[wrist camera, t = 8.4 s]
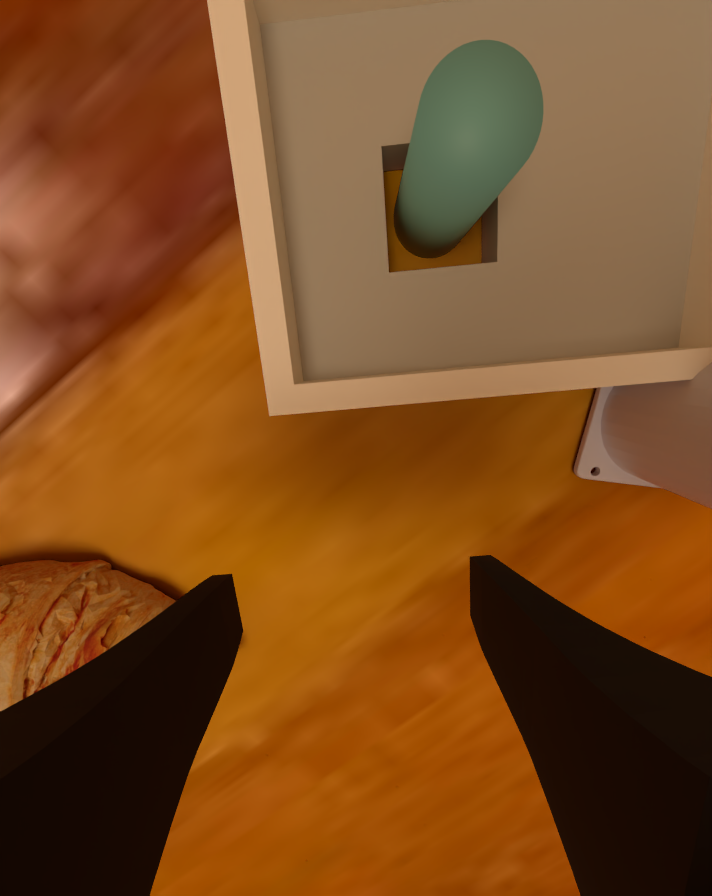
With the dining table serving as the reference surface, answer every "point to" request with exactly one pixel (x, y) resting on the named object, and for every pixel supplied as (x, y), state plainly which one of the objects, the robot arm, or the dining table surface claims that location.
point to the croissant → (64, 619)
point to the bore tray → (503, 223)
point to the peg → (466, 143)
